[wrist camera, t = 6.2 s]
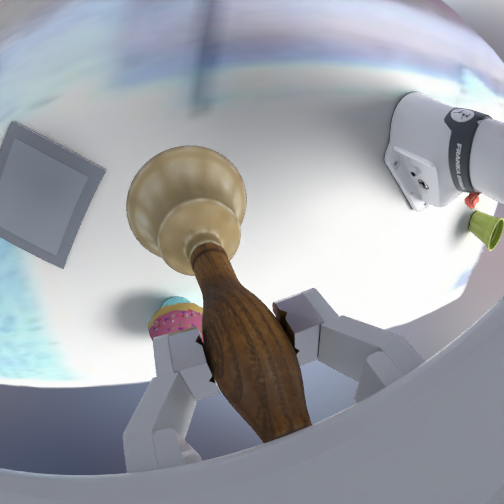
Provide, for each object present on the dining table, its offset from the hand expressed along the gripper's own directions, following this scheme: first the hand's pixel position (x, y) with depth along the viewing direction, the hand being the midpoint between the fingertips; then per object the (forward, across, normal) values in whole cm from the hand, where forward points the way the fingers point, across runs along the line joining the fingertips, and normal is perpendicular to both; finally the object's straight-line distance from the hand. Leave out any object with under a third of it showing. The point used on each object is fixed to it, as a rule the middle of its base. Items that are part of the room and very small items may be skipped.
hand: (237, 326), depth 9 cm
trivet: (+25, +18, -2) cm, 31 cm away
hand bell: (+12, 0, 0) cm, 12 cm away
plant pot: (+27, -70, +25) cm, 79 cm away
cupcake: (+26, +5, +20) cm, 33 cm away
